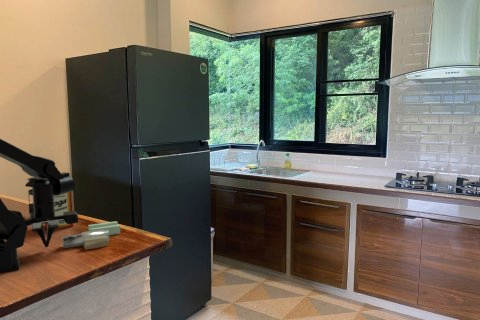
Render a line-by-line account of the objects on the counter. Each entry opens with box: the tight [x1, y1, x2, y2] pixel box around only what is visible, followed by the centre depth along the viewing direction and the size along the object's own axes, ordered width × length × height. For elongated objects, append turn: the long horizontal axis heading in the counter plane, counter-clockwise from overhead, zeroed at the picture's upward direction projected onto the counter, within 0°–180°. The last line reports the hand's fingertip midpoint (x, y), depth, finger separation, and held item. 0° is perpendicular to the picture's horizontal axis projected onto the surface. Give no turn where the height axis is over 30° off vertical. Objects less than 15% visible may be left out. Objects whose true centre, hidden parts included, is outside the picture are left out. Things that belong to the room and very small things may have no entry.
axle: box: [62, 230, 110, 249], centre depth 120 cm, size 14×4×4 cm, turn 119°
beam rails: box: [81, 229, 109, 250], centre depth 121 cm, size 9×7×3 cm
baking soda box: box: [44, 191, 74, 231], centre depth 138 cm, size 10×6×16 cm
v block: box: [87, 220, 121, 236], centre depth 131 cm, size 6×10×3 cm, turn 119°
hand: (46, 246), depth 114 cm, fingers closed
